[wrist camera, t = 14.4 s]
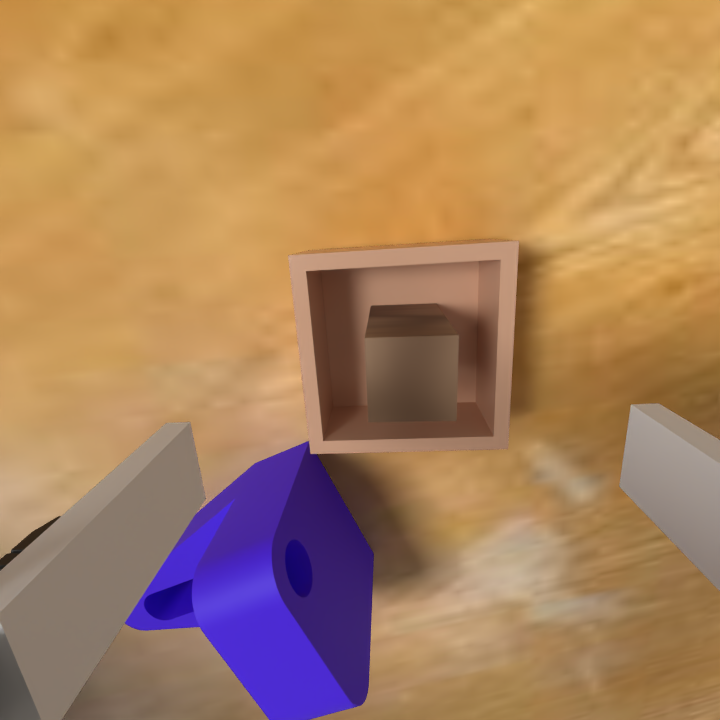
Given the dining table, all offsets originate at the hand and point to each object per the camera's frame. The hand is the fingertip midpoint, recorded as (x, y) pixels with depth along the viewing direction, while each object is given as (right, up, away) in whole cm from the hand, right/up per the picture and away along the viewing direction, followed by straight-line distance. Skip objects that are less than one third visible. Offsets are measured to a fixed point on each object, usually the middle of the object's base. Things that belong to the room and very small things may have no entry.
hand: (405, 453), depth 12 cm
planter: (+1, +5, +14) cm, 15 cm away
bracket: (-11, -11, +20) cm, 25 cm away
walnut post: (+1, +4, +13) cm, 14 cm away
